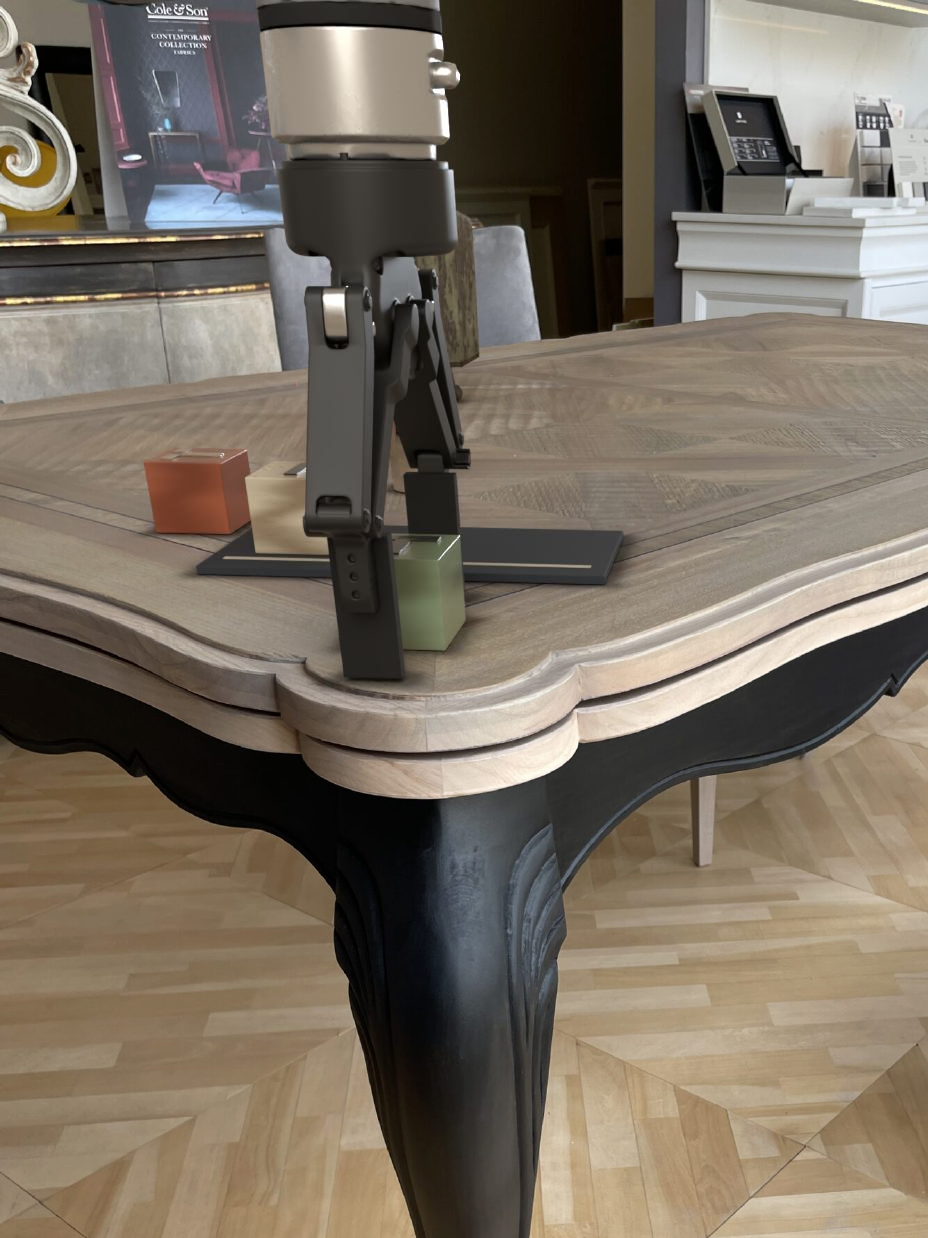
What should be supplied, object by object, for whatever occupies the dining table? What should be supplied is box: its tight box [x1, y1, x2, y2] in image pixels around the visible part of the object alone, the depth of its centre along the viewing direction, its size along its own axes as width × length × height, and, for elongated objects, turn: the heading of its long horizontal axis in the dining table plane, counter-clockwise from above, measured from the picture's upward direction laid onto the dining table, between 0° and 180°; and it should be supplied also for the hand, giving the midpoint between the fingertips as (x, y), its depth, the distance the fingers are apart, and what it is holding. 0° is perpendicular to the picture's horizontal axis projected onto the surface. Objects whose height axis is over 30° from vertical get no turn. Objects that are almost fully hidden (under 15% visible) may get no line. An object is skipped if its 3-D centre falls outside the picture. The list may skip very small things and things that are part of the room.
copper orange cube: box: [143, 447, 251, 535], centre depth 86 cm, size 5×5×5 cm
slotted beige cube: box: [245, 460, 329, 555], centre depth 80 cm, size 5×5×5 cm
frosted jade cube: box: [392, 533, 467, 652], centre depth 66 cm, size 5×5×5 cm
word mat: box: [195, 524, 624, 586], centre depth 80 cm, size 24×11×1 cm, turn 86°
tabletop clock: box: [415, 209, 480, 402], centre depth 129 cm, size 14×9×25 cm, turn 9°
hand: (410, 632), depth 67 cm, fingers open, 13 cm apart
